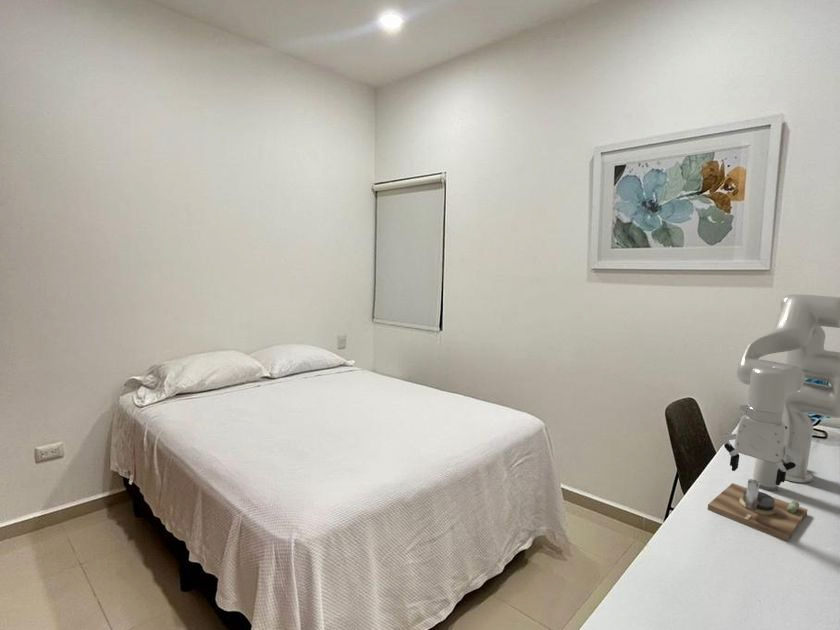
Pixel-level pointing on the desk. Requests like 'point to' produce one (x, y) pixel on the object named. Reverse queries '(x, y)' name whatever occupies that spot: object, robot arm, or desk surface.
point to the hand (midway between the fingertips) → (755, 476)
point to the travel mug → (766, 474)
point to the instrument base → (759, 513)
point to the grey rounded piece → (757, 497)
